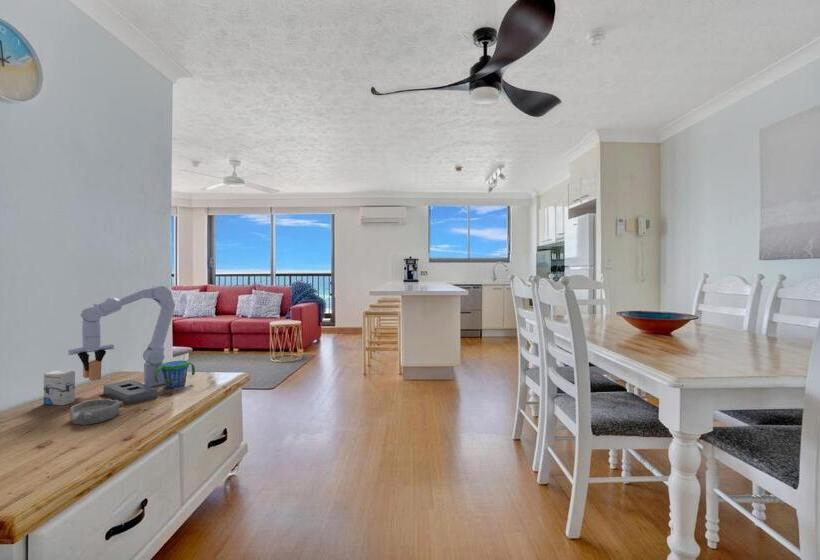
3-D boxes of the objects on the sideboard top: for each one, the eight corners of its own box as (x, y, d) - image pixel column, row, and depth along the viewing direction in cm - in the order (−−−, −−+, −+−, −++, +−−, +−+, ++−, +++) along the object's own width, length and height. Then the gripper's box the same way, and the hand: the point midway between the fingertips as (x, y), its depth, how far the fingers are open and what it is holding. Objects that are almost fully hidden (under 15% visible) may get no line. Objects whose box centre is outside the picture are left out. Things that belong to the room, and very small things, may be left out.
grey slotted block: (131, 387, 171) (131, 379, 171) (157, 397, 157) (157, 388, 157) (103, 393, 162) (103, 385, 162) (128, 404, 149) (128, 395, 149)
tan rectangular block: (91, 375, 164) (92, 358, 164) (100, 379, 159) (101, 362, 159) (82, 376, 162) (83, 359, 162) (91, 380, 156) (92, 363, 156)
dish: (91, 428, 127) (91, 412, 127) (57, 424, 130) (57, 409, 130) (131, 412, 141) (131, 398, 141) (99, 409, 144) (99, 396, 144)
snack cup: (157, 392, 164) (156, 368, 164) (152, 386, 172) (151, 363, 172) (198, 385, 175) (198, 362, 175) (191, 380, 182) (191, 358, 182)
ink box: (42, 404, 149) (42, 373, 148) (56, 400, 154) (55, 370, 153) (63, 405, 148) (63, 374, 148) (76, 401, 153) (75, 371, 153)
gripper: (109, 333, 168) (109, 364, 169) (65, 337, 156) (66, 371, 157) (115, 334, 164) (116, 366, 165) (71, 339, 152) (72, 374, 153)
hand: (92, 369), depth 160 cm, fingers closed on tan rectangular block, 3 cm apart
